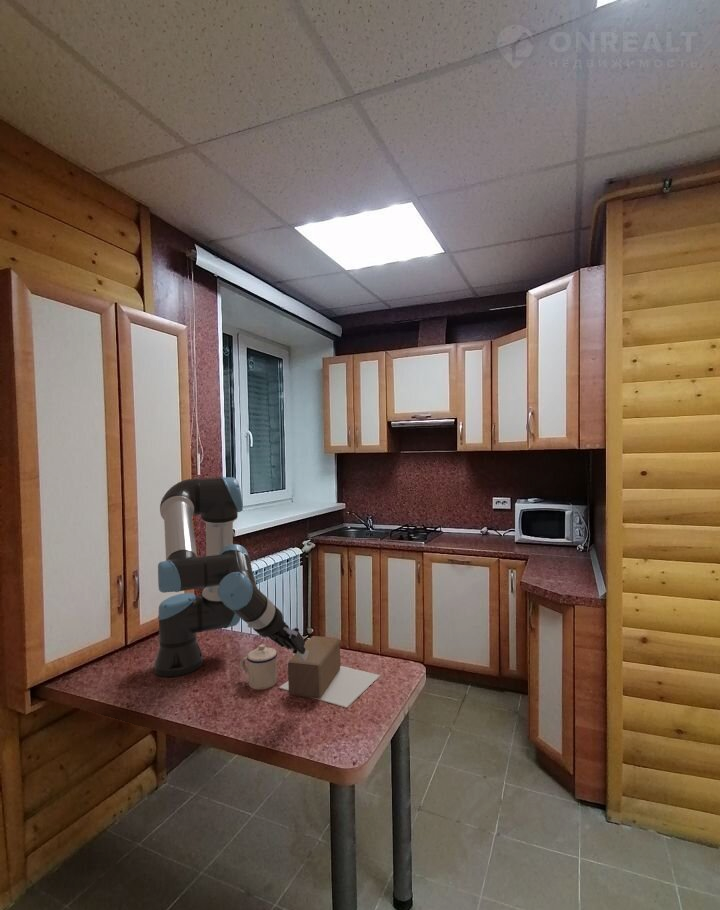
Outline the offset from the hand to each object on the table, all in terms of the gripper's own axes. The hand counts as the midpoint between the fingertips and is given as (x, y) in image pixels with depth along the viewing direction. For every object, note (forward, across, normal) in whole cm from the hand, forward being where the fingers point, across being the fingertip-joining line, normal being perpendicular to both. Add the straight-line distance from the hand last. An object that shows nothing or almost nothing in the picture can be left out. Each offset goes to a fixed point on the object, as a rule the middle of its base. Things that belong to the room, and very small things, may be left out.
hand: (305, 655), depth 130 cm
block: (+6, -2, -5) cm, 8 cm away
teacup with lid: (+11, -20, -8) cm, 24 cm away
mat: (+18, 0, -1) cm, 18 cm away
